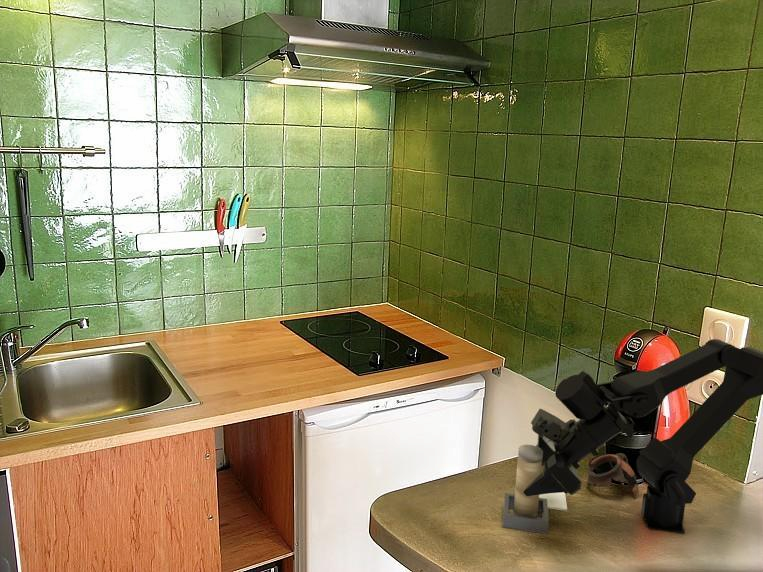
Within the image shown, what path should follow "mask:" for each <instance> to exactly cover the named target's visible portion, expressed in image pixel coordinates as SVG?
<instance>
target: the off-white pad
mask: <svg viewBox="0 0 763 572" xmlns="http://www.w3.org/2000/svg"><path fill="white" fill-rule="evenodd" d="M539 498H544V499H547V505H548V510H549V509H550V510H556V511H557V510H558V511H565V512H568V505H567V498H566V494H565V493H564V492H561V493H548V494H541V495H539Z"/></svg>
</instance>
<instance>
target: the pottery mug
mask: <svg viewBox="0 0 763 572" xmlns="http://www.w3.org/2000/svg"><path fill="white" fill-rule="evenodd" d="M607 462H609V465H610V467H611V468H612V469H611V470H609V471H607V472H603V473H595V472H593V471H594V470H595V469H596V468H597V467H598V466H600V465H603V464H604V463H607ZM586 472H587V474H588V476H587V482H588V483H589V484H590V485H591V486H593V487H599V488H601V487H606V488H608V489H610V490H612V480H614V481H615V482H619V483H626V482H627V486H628V487H630V488H632V490H631V491H632V494H633V498H634V499H635V500H636V499H638V497H639V494H640V490H639V484H638V481H637V477H636V474H635V472H634V470H633V469H632V467H631V466H630V464H629V460H628V456H626V454H624V453H622V452H619V453H615V454H612V453H611V454H608V453H607V454H603V455H600V456H597V457H596V458H594V459H593V460H592V461H591V462H590V466H588V467H587V468H586Z"/></svg>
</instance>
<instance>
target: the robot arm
mask: <svg viewBox="0 0 763 572" xmlns="http://www.w3.org/2000/svg"><path fill="white" fill-rule="evenodd" d="M724 367H725V369H724V374H723V375H724V376H723V380H722V382H721V383H720V385H718V387H717V388H716V389H715V390H714V391H713V392H712V393H711V394H710V395H709V396H708V397H707V398H706V400H705V401H703V403H702V404H700V406H699V407H698V408H697V409H696V410H695V411H694V412H692V414H691V415H690V416H689V418H688V419H686V420H685V422H684V423H683V424H682V425H681V426H680V427H679V428H678V429H677V430H676V431H675V432H674V434H672V436H671V437H669V438H666V439H663V440H659V438H657V437H653V438H652V439H650V440H649V442H648V443H647V445H646V446H645V447H644V448H642V449H640V450H639V452H638V453H640V454H639V455H638V457H637V459H636V461H635V463H636V470H637V473H638V474H639V475H640V476H641V479H642V482H643V483H644V484H645V485H647V486H646V493H643V494H642V501H641V509H640V514H641V516H642V519H643V520H644V523H645V524H646V527H647V528H648V529H650V530H657V531H663V532H671V533H679V534H685V533H686V530H685V527H684V525H683V524H684V519H685V518H684V517H685V510H686V505H688V504H692V502H693V501H694V500H695V497H696V494H697V493H696V491H695V490H694V489H693V487H691V486H690V484H688V482H686V481H687V479H688V478H689V476H690V475H691V472H692V466H693V462H694V458H695V456H696V455H697V454H698V453H700V451H701V450H702V449H703V448H704V447H705V446H706V444H707V443H708V442H709V441H710V440H711V439H712V438H714V436H715V435H716V434H717V433H718V432H719V431H720V429H722V427H724V426H725V425H726V423H728V421H729V420H730V419H732V417H733V416H734V415H735V414H736V413H737V412H738V411H739V410H740V408H741V407H743V405H745V403H746V402H747V401H750V400H751V399H754V398H757V397H761V396H763V351H762V350H760V349H757V348H754V347H752V346H747V347H746V346H745V347H741V348H739V347H736V346H735V345H733V344H731V343H729V342H725V341H723V340H721V339H717V338H714V339H709V340H708V341H706V342H705V344H704V345H702V346H700V347H697V348H695V349H693V350H691V351H689V352H687V353H685V354H683V355H681V356H678V357H677V358H675V359H673V360H670V361H669V362H667V363H664V364H662V365H660V366H659V367H657V368H654V369H651V370H647V371H646V370H645V371H634V372H631V373H627V374H625V375H624V374H623V375H620V376H618V377H616V378H614V379H613V380H612V381H607V382H602V383H596V382H595V380H594V379H593V377H592V376H591V375H590V374H589V373H587V372H586V371H585V370H582V371H580V373H578V374H574V375H573V374H572V375H571V376H568V377H567V378H563V379H562V380H561V381H560V382H559V383H558V385H557V387H556V389H555V397H556V399H557V400H558V401H559V402H561V403H562V405H564V407H565V408H566V409H567V410H568V411H569V412H570V413H571V414H572V415H573V416H574V417H575V418H576V419H578V420H577V421H576V419H575V418H573V419H572V418H571V419H569V420H568V421H566V422H565V421H563V420H562V419H560V418H559V417H558V416H556V415H553V414H552V413H550V412H549V411H547V410H545V409H542V408H539V409H538V411H537V412H536V413H535V415H534V417H533V419H532V420H531V421H530V424H531V430H532V431H533V432H534V433H535V434H536V435H537V444H536V445H535V446H537V447H539V448H541V449H542V450H543V458H542V471H541V474H540V475H539V476H538V477H537V478H536V479H535V480H534V481H533V482H532V483H530V484H529V485H528V486H527V488H526V489H525V490H524V491H523V493H524V494H525V495H526V496H534V495H541V494H548V493H561V492H564V493H565V495H567V494H569V495H570V496H573V495H575V494H576V493H578V491H580V490H581V489H582V488H581V487H582V480H581V477H580V473H579V471H577V470H578V469H579V468H580V467H581V463H580V462H581V461H582V460H584V459H585V458H586V457H588V456H589V455H593V457H596V456H597V455H598V454H600V452H599V449H598V448H600V447H602V446H603V445H604V444H605V443H607V442H608V441H610V440H611V439H612V438H614V437H616V436H617V435H618V434H620V433H621V432H623V433H624V434H625V435H626V436H627V437H628V438H629V439H631V438H633V436H634V425H635V423H634V421H633V419H632V418H631V417H633V418H635V419H639V418H642V417H645V416H647V415H649V414H650V413H651V412H653V411H655V409H657V408H658V407H660V406H661V405H662V403H663V401H664V400H665V398H666V397H667V396H668V395H671V393H674V392H675V391H677V390H680V389H681V388H684V387H685V386H688V385H690V384H692V383H694V382H696V381H697V380H699V379H702V378H704V377H706V376H708V375H710V374H711V373H714V372H715V371H719V370H720V369H723V368H724ZM606 404H609V405H608V406H607V405H606ZM619 411H620V412H619ZM621 412H624V413H626V414H627V415H628V416H624V415H622V414H621Z"/></svg>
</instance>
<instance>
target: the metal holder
mask: <svg viewBox="0 0 763 572" xmlns="http://www.w3.org/2000/svg"><path fill="white" fill-rule="evenodd" d="M514 500H515V493H504V500H503V501H504V502H503V515H502V516H503V520H502V528H503V529H504V528H506V529H512V530H519V531H525V532H531V533H539V534H546V535H548V533H549V532H548V531H549V523H550V521H549V508H548V505H547V499H544V498H539V503H538V513H541V517H538V516H537V517H531V516H524V515H517V514H513V513H509V509H514Z"/></svg>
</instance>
